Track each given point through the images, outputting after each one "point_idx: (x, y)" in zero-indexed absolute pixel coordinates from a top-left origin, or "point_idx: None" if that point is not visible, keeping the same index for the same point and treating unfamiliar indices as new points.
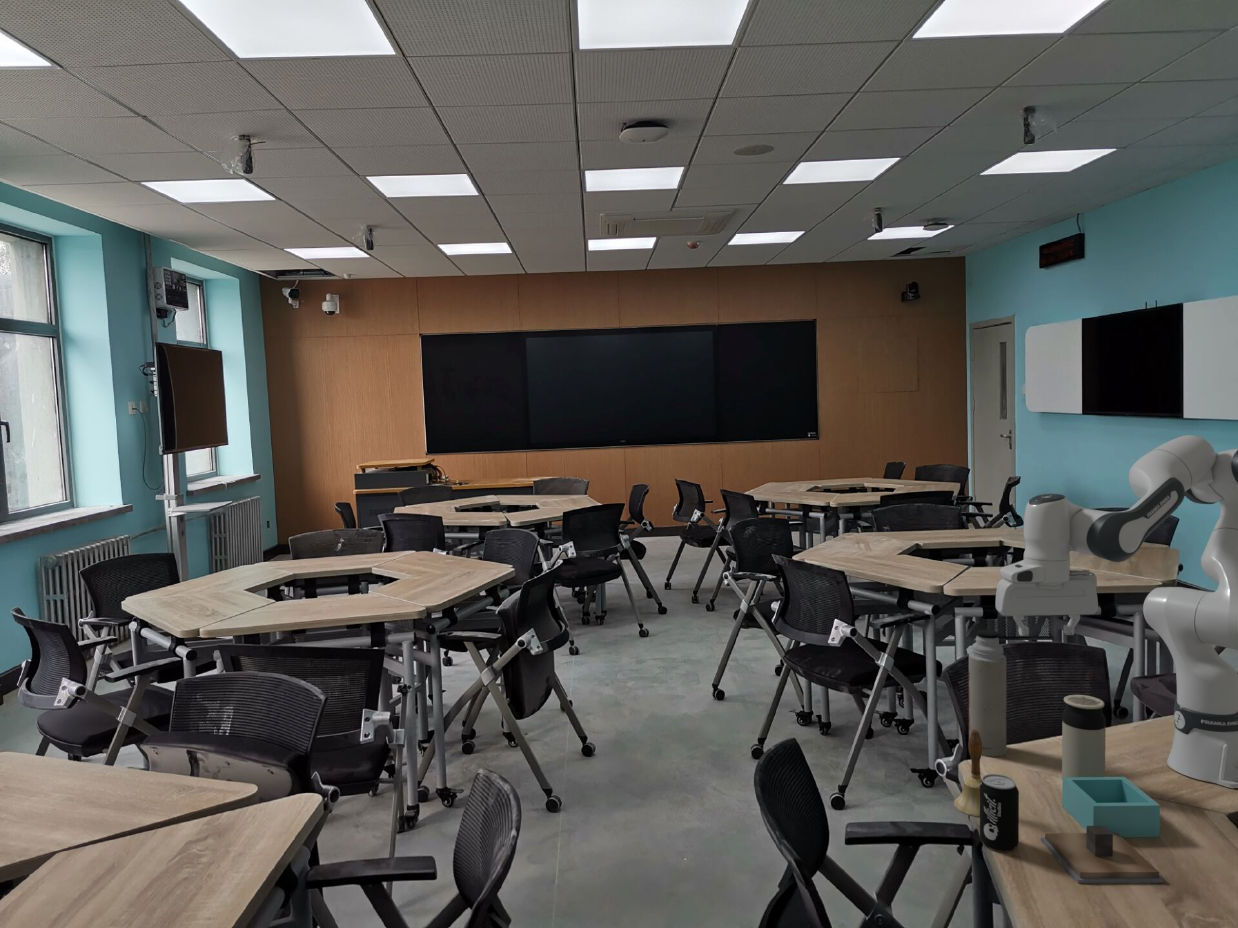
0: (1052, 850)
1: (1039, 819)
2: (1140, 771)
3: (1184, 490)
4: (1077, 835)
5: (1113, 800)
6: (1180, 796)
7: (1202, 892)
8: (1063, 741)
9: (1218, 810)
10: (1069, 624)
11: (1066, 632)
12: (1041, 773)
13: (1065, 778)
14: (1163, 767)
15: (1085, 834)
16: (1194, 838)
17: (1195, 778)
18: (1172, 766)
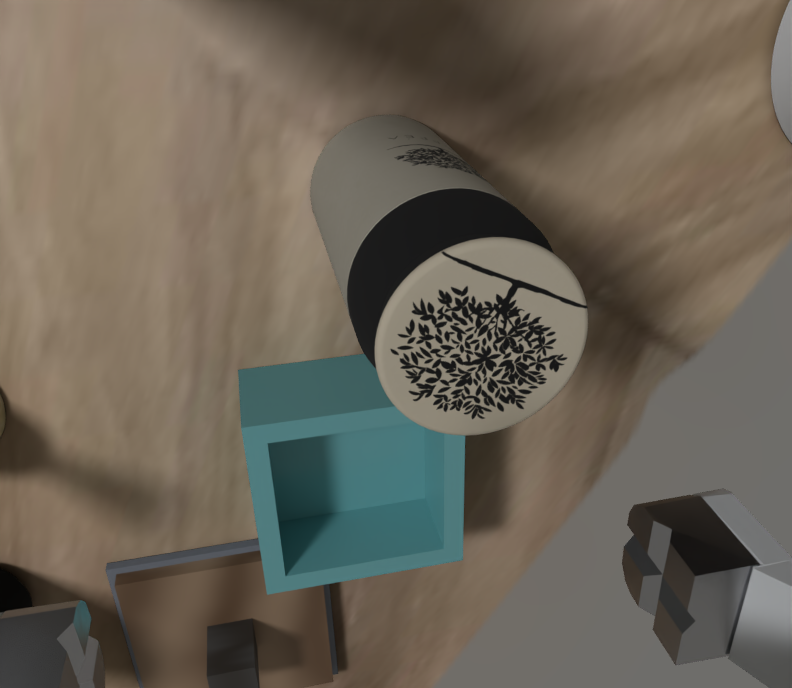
0: (120, 619)
1: (135, 457)
2: (650, 64)
3: None
4: (204, 579)
5: None
6: (646, 263)
7: (396, 679)
8: (332, 249)
9: (685, 341)
10: (759, 618)
11: (636, 582)
12: (252, 100)
13: (249, 433)
14: (757, 20)
15: (229, 571)
16: (518, 492)
17: (785, 133)
18: (781, 45)
